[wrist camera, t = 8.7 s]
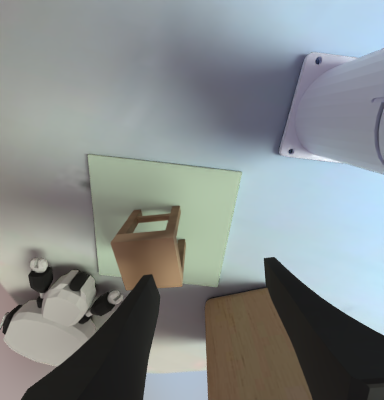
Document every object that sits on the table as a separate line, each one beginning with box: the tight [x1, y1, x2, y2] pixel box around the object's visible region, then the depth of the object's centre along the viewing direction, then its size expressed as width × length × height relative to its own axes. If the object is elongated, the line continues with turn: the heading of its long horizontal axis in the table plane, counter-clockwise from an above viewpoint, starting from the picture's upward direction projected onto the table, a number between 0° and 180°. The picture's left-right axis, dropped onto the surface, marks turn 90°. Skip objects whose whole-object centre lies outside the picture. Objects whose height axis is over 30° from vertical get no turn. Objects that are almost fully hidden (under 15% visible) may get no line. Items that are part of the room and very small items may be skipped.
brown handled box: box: [110, 206, 186, 290], centre depth 19 cm, size 5×5×6 cm
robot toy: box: [0, 258, 123, 366], centre depth 25 cm, size 12×4×15 cm
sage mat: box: [88, 154, 242, 287], centre depth 22 cm, size 15×15×1 cm
